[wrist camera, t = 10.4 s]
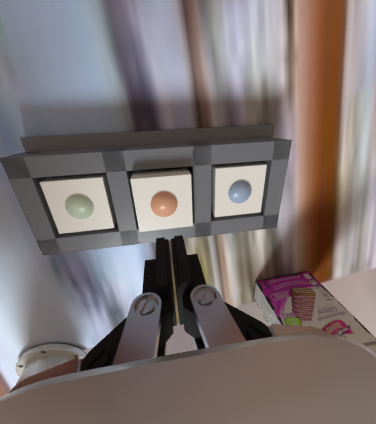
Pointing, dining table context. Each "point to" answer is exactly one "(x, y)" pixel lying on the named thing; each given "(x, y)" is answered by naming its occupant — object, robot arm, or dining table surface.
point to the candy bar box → (308, 307)
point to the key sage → (80, 202)
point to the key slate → (237, 188)
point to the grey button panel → (145, 161)
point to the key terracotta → (162, 199)
